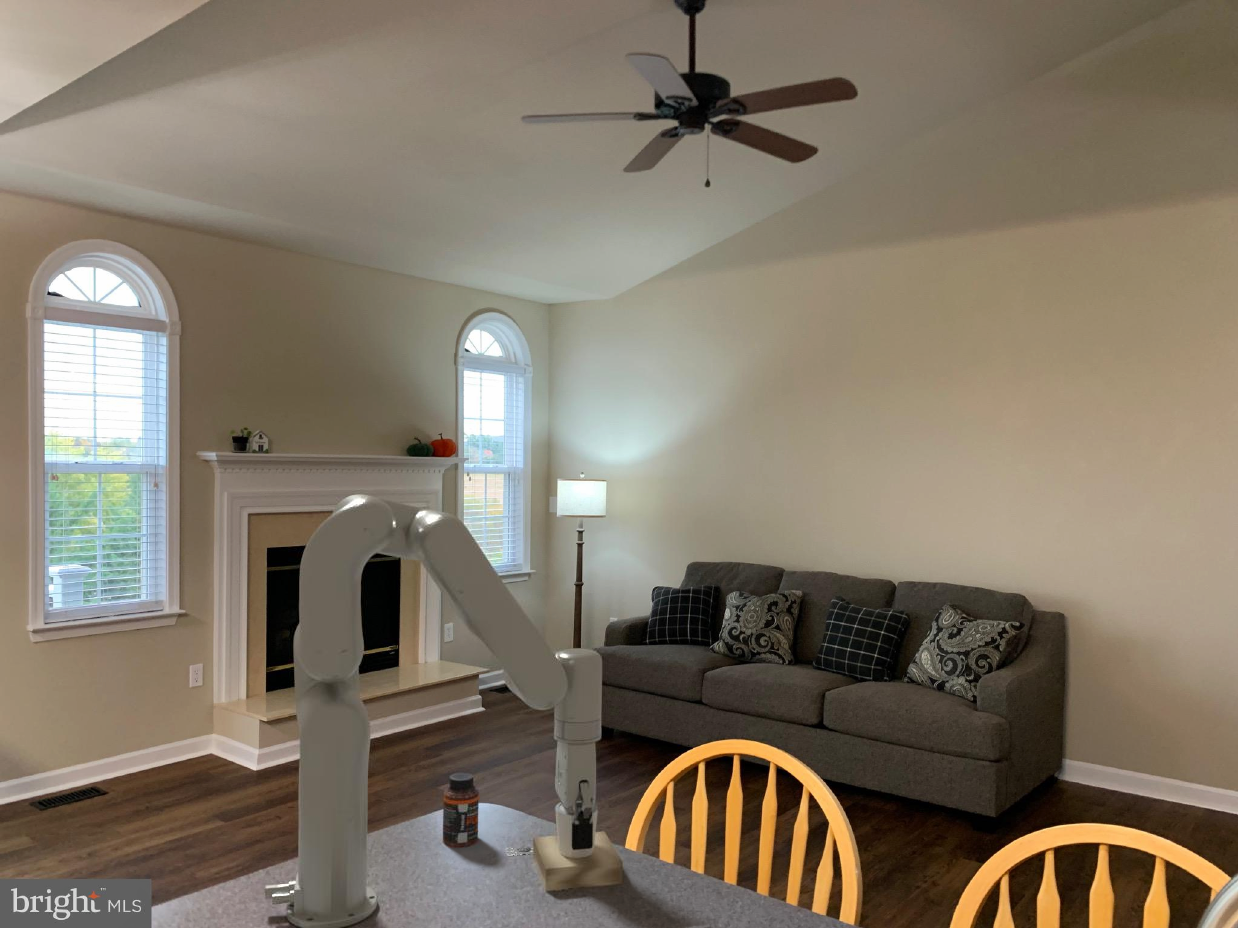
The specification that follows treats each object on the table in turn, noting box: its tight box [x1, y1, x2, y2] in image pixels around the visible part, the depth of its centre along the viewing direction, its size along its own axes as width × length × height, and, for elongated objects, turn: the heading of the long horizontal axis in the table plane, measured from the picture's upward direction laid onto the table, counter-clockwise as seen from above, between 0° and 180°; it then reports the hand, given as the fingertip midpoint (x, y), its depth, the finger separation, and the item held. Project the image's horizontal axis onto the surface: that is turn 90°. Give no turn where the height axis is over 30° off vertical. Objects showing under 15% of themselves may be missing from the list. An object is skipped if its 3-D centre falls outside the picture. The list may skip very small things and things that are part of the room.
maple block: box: [532, 830, 623, 892], centre depth 150 cm, size 12×12×4 cm
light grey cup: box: [554, 800, 599, 858], centre depth 150 cm, size 7×7×7 cm
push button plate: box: [505, 845, 533, 857], centre depth 157 cm, size 6×4×1 cm, turn 104°
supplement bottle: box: [442, 772, 480, 848], centre depth 161 cm, size 6×6×11 cm
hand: (576, 836), depth 150 cm, fingers open, 8 cm apart
